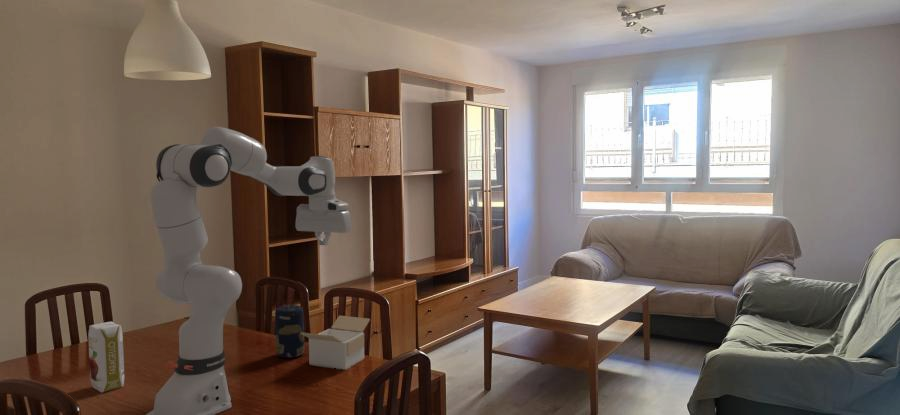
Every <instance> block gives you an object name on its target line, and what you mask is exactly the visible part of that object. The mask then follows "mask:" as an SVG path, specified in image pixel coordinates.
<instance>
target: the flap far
mask: <svg viewBox="0 0 900 415" xmlns="http://www.w3.org/2000/svg"><path fill="white" fill-rule="evenodd" d="M370 321H371V319H370V318H366V317H356V316H348V315H338V317H337V318H336V320H334V322H333V324H332V326H331V328H330V329H335V330H344V331H353V332H361V333H364V331H365V329H366V327H367V326H368V324H369V322H370Z"/></svg>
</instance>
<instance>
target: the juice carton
mask: <svg viewBox="0 0 900 415" xmlns="http://www.w3.org/2000/svg"><path fill="white" fill-rule="evenodd" d="M88 328H89V329H88V338H87V339H88V358H89V375H90V377H89V378H90V382H91V386H92V388H93V389H95V390H97V391H98V392H99V393H106V392H109V391H113V390H117V389H119V388H120V389H121V388H123V387H124V385H125V362H124V361H125V358H124V341H123V340H124V336H123V330H122V325H121V324H118V323H115V322H113V321H107V322H101V323H96V324H91V325H89V327H88Z"/></svg>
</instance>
